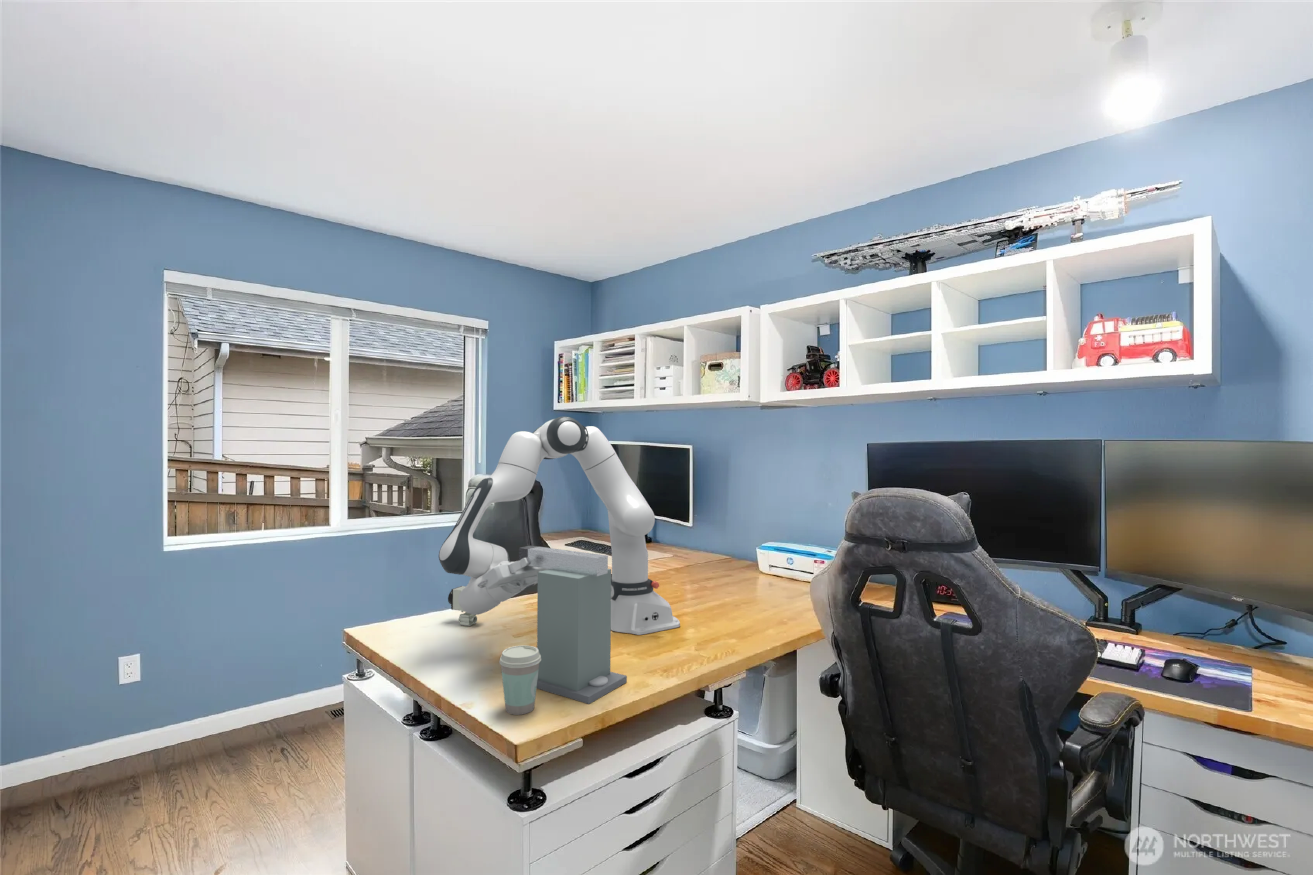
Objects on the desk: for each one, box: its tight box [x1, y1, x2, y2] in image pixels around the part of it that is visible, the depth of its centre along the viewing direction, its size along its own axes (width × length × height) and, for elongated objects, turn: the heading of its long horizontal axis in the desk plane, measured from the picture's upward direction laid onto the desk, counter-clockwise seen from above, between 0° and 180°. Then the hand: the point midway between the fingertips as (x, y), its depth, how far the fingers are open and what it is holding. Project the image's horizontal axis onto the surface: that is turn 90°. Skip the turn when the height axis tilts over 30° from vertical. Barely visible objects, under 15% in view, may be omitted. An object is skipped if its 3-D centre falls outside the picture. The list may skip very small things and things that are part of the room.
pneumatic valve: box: [447, 585, 478, 627], centre depth 184 cm, size 6×12×12 cm, turn 70°
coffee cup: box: [498, 644, 541, 716], centre depth 126 cm, size 8×8×12 cm
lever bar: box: [518, 545, 609, 576], centre depth 142 cm, size 24×4×4 cm, turn 58°
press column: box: [536, 568, 628, 705], centre depth 139 cm, size 16×14×26 cm
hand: (541, 557), depth 146 cm, fingers open, 8 cm apart
